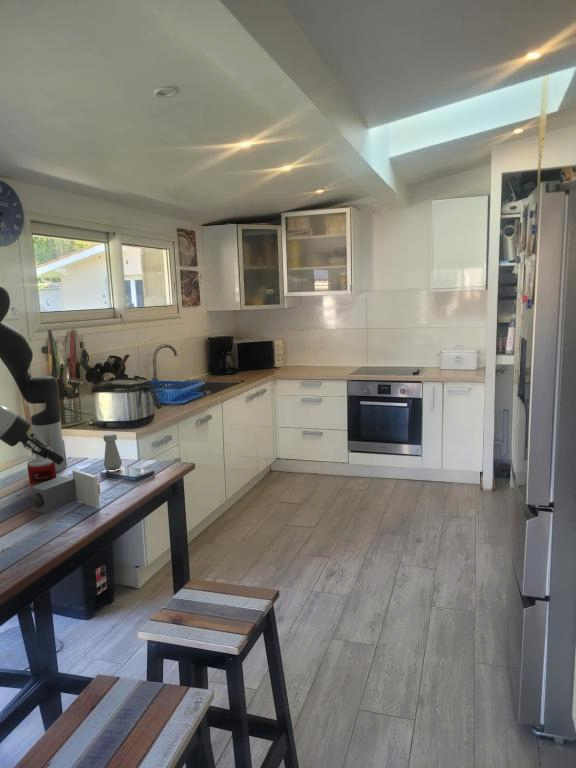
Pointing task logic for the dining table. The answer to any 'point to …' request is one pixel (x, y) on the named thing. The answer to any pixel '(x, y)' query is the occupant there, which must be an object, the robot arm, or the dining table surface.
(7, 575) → the dining table surface
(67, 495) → the block
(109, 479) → the dining table surface
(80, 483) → the side door
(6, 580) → the dining table surface
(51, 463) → the canned food
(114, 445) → the salt shaker
